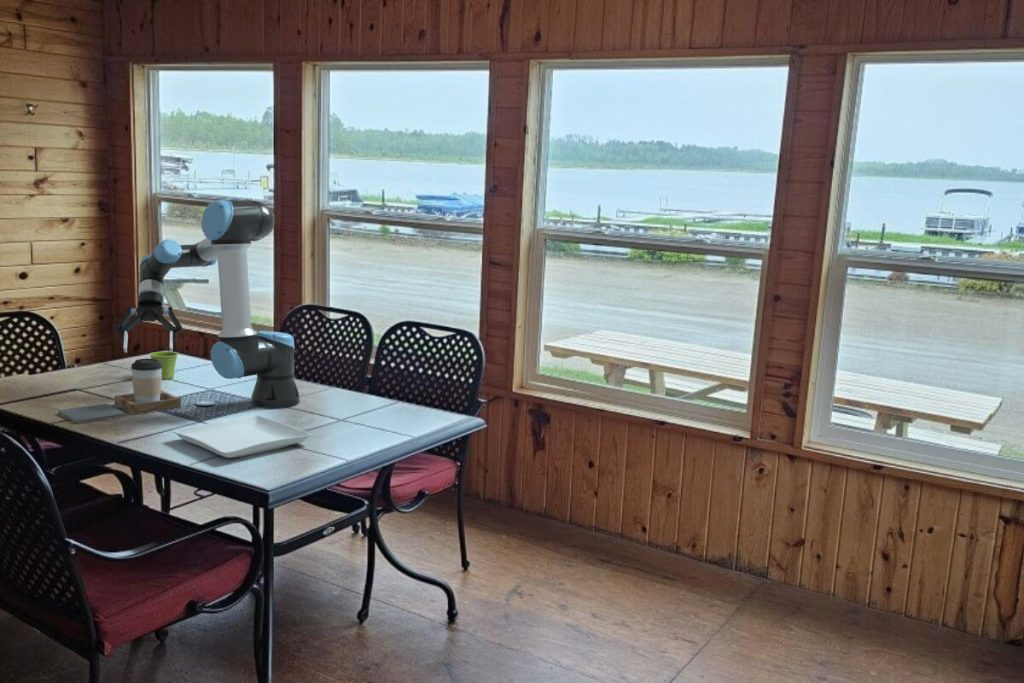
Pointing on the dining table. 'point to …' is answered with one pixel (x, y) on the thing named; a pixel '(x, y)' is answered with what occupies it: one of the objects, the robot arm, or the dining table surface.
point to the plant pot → (166, 363)
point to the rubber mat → (91, 413)
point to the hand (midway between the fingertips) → (148, 350)
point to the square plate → (243, 436)
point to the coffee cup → (146, 380)
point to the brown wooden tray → (131, 406)
